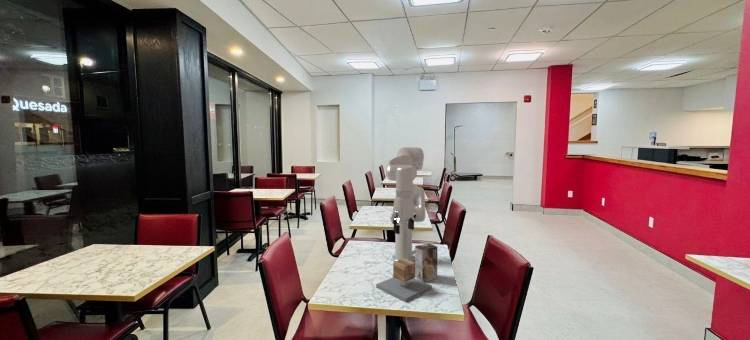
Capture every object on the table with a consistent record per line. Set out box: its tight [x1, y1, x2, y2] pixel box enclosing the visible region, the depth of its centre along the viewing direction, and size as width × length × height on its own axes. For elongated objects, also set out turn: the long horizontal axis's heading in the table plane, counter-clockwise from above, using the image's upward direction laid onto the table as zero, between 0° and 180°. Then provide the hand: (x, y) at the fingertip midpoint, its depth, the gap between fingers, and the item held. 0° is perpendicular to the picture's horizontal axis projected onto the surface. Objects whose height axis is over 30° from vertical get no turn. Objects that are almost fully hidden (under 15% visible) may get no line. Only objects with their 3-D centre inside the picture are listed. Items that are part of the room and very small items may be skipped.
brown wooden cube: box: [392, 259, 416, 282], centre depth 141 cm, size 7×7×7 cm
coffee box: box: [414, 243, 438, 283], centre depth 152 cm, size 9×6×16 cm
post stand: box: [375, 276, 433, 303], centre depth 141 cm, size 18×18×10 cm
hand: (403, 231), depth 141 cm, fingers open, 9 cm apart
